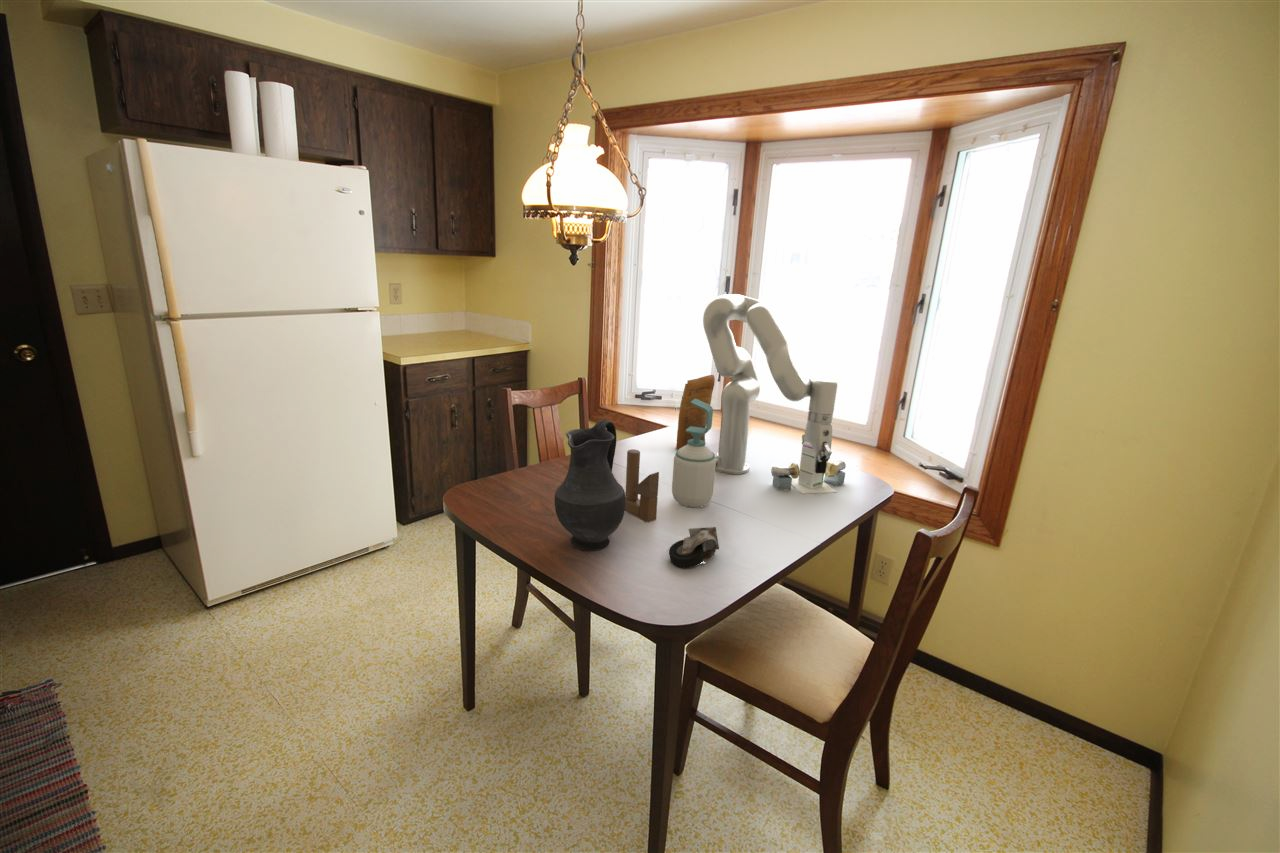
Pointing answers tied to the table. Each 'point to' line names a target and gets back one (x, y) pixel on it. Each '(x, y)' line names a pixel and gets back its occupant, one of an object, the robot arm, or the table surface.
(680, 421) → the pancake mix bag
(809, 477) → the syrup box
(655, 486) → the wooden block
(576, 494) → the pitcher
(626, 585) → the table surface
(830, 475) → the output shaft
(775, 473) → the shaft
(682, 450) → the soap bottle
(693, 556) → the caster wheel
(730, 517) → the table surface
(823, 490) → the mat
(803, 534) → the table surface
